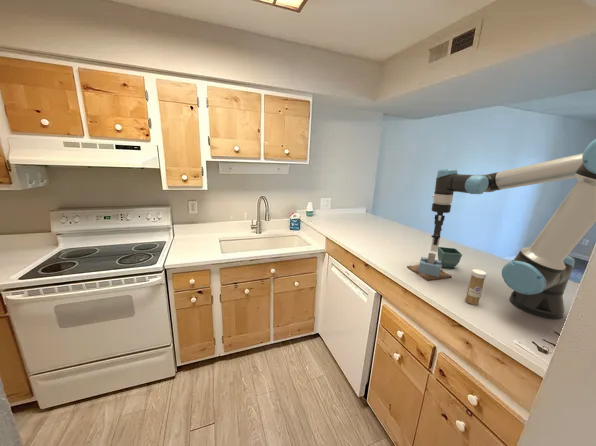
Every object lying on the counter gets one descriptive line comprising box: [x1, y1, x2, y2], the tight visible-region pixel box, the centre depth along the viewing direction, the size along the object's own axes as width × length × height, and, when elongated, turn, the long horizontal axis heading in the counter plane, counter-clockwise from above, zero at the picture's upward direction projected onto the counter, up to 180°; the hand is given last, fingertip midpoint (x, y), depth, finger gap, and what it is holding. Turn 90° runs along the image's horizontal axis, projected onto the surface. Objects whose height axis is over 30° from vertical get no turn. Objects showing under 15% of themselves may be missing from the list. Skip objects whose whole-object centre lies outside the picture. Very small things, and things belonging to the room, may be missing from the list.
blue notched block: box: [418, 256, 442, 277], centre depth 119 cm, size 9×9×5 cm
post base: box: [407, 252, 453, 282], centre depth 119 cm, size 14×14×10 cm
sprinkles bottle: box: [464, 268, 487, 306], centre depth 95 cm, size 5×5×13 cm
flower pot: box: [437, 246, 463, 269], centre depth 128 cm, size 9×9×9 cm
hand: (434, 246), depth 116 cm, fingers open, 13 cm apart
